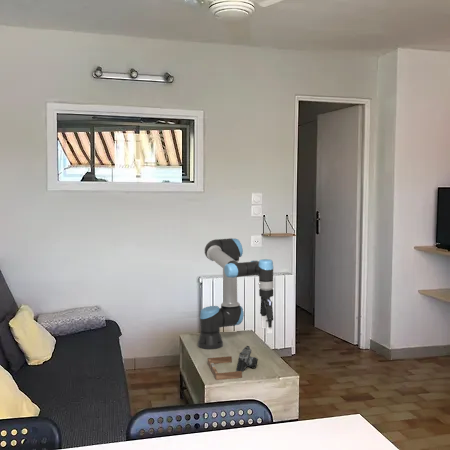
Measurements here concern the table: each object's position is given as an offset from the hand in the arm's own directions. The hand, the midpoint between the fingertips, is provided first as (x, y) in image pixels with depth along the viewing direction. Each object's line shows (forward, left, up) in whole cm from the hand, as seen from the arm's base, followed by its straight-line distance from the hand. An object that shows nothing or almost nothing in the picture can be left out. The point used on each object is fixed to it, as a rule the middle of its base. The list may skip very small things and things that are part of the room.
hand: (266, 330), depth 276 cm
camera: (0, -11, -20) cm, 23 cm away
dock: (0, -23, -20) cm, 30 cm away
